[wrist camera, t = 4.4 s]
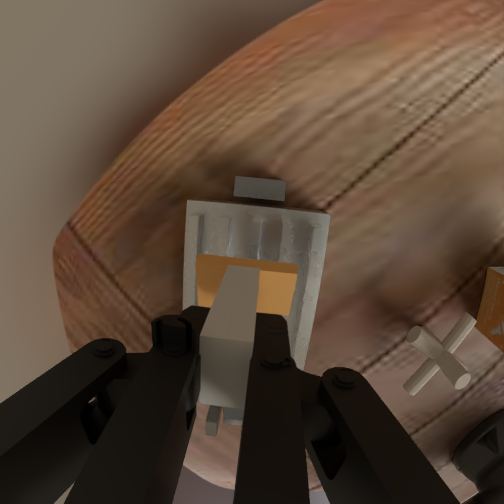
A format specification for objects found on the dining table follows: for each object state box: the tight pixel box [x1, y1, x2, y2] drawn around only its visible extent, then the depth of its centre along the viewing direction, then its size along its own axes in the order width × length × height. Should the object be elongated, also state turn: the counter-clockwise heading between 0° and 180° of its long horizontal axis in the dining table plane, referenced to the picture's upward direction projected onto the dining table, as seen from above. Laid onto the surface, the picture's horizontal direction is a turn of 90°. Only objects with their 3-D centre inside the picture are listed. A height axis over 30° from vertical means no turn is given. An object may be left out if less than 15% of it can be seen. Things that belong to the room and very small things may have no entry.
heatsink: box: [183, 176, 330, 436], centre depth 26 cm, size 23×12×8 cm, turn 175°
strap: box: [195, 254, 298, 426], centre depth 21 cm, size 20×5×1 cm, turn 174°
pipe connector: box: [403, 311, 477, 396], centre depth 25 cm, size 10×10×10 cm
